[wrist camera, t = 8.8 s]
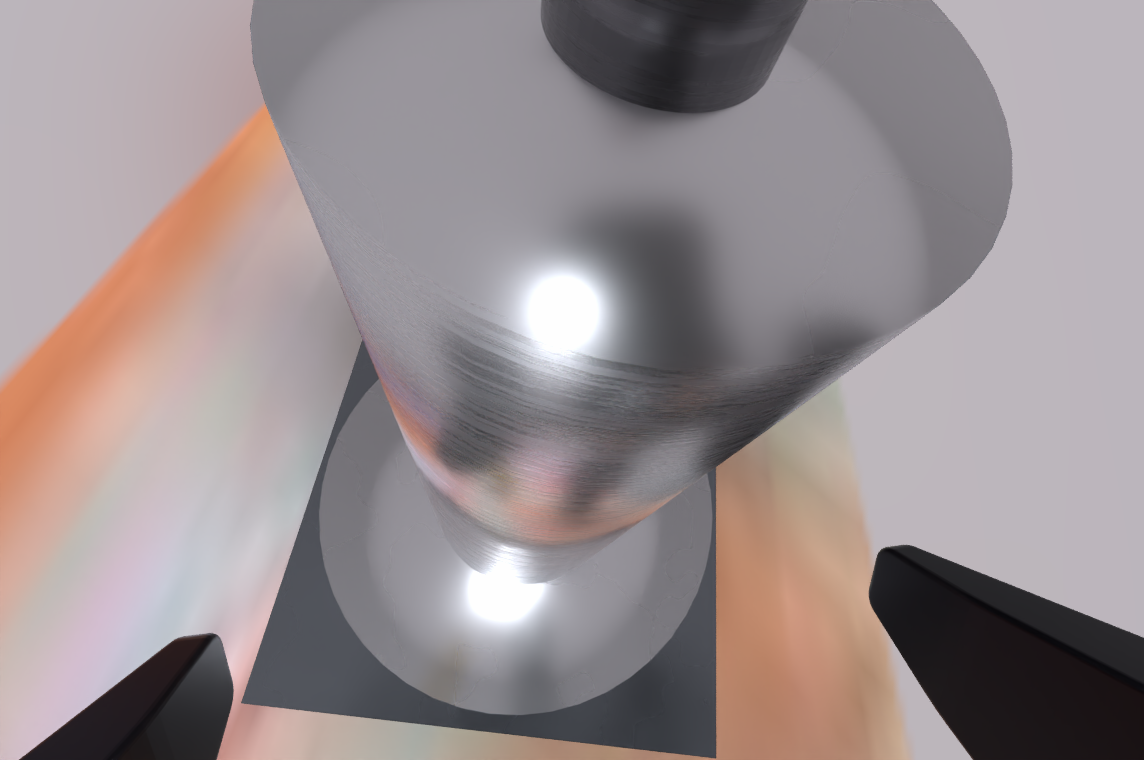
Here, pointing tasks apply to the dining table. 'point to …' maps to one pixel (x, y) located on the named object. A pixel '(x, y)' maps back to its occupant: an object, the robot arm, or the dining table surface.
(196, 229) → the dining table surface
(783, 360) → the silver metal bottle
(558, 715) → the stand
